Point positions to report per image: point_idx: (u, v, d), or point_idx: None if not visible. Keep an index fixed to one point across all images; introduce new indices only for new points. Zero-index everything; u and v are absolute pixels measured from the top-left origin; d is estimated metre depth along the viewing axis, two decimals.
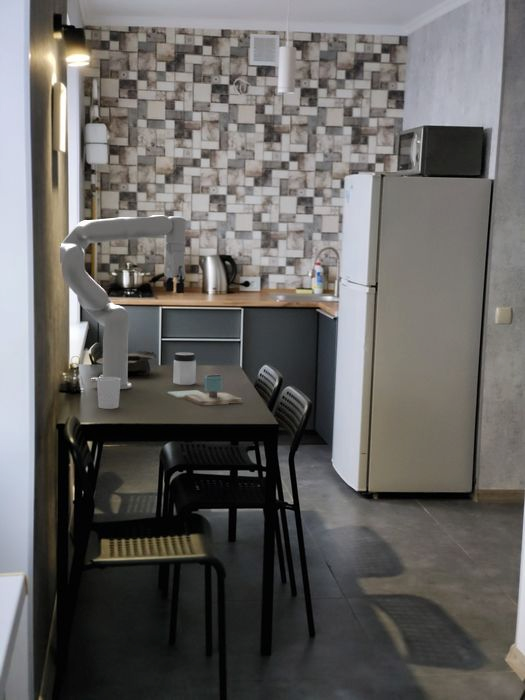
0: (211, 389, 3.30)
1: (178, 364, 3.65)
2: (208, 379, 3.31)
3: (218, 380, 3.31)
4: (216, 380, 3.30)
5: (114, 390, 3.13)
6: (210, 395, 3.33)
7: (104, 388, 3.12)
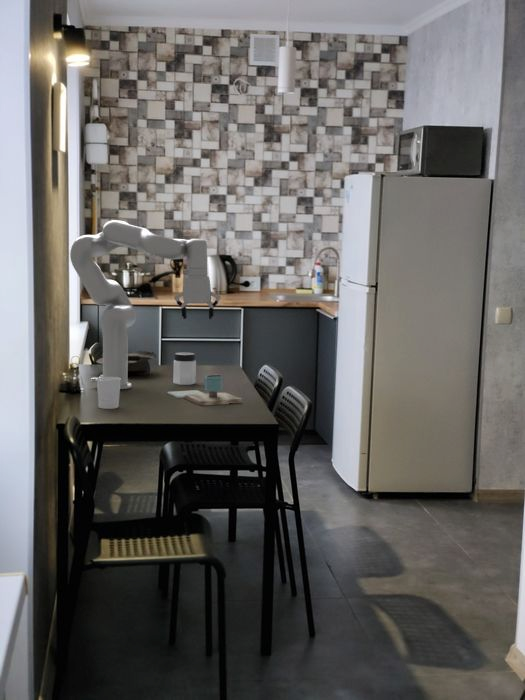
0: (211, 389, 3.30)
1: (178, 364, 3.65)
2: (208, 379, 3.31)
3: (218, 380, 3.31)
4: (216, 380, 3.30)
5: (114, 390, 3.13)
6: (210, 395, 3.33)
7: (104, 388, 3.12)
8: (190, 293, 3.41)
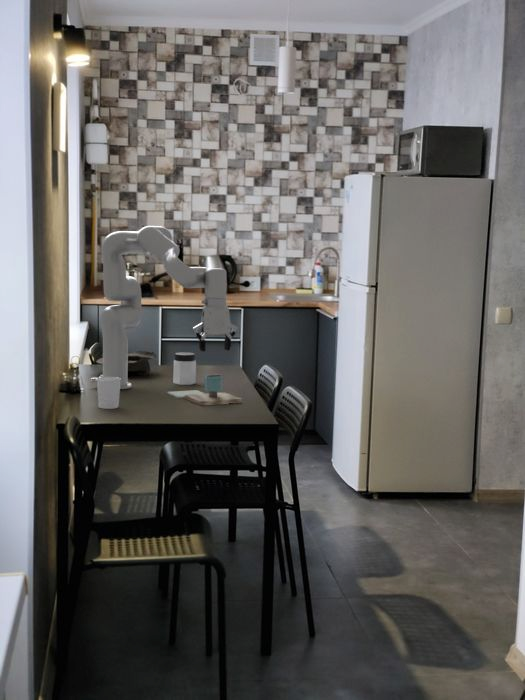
0: (211, 389, 3.30)
1: (178, 364, 3.65)
2: (208, 379, 3.31)
3: (218, 380, 3.31)
4: (216, 380, 3.30)
5: (114, 390, 3.13)
6: (210, 395, 3.33)
7: (104, 388, 3.12)
8: (213, 324, 3.27)
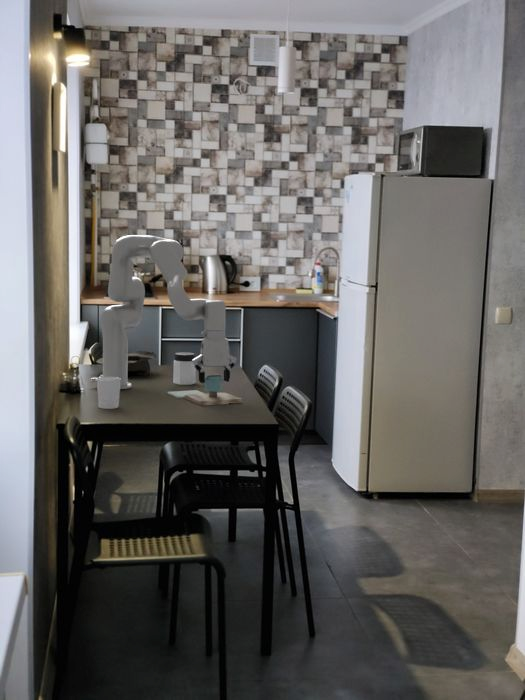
0: (211, 389, 3.30)
1: (178, 364, 3.65)
2: (208, 379, 3.31)
3: (218, 380, 3.31)
4: (216, 380, 3.30)
5: (114, 390, 3.13)
6: (210, 395, 3.33)
7: (104, 388, 3.12)
8: (212, 356, 3.28)
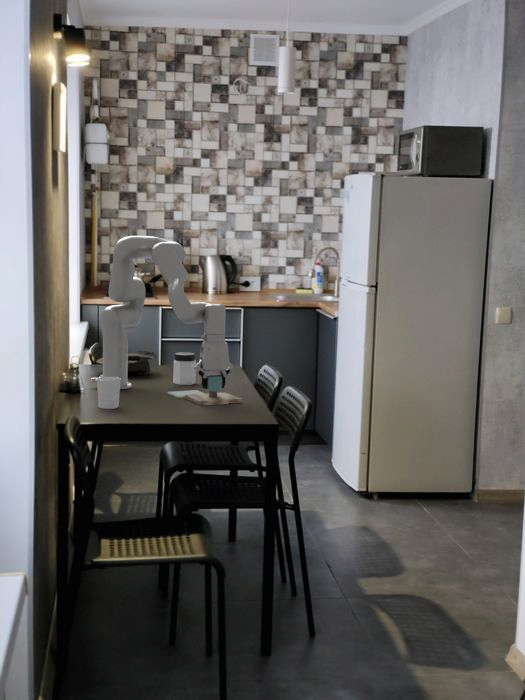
0: (211, 389, 3.30)
1: (178, 364, 3.65)
2: (208, 379, 3.31)
3: (218, 380, 3.31)
4: (216, 380, 3.30)
5: (114, 390, 3.13)
6: (210, 395, 3.33)
7: (104, 388, 3.12)
8: (211, 360, 3.29)
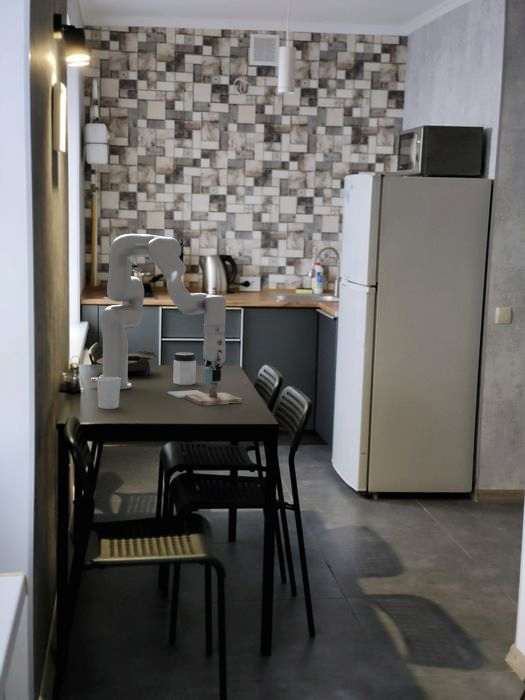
0: None
1: (178, 364, 3.65)
2: None
3: None
4: None
5: (114, 390, 3.13)
6: (210, 395, 3.33)
7: (104, 388, 3.12)
8: None
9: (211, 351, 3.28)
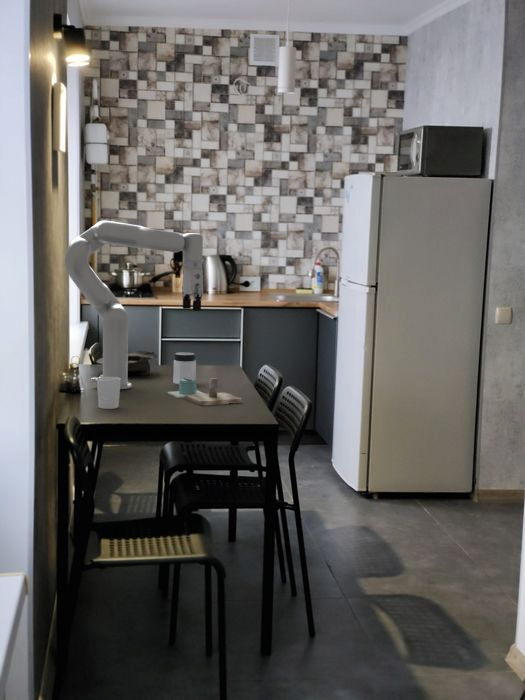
0: (195, 391, 3.44)
1: (178, 364, 3.65)
2: (194, 383, 3.42)
3: None
4: None
5: (114, 390, 3.13)
6: (210, 395, 3.33)
7: (104, 388, 3.12)
8: None
9: (190, 285, 3.53)
